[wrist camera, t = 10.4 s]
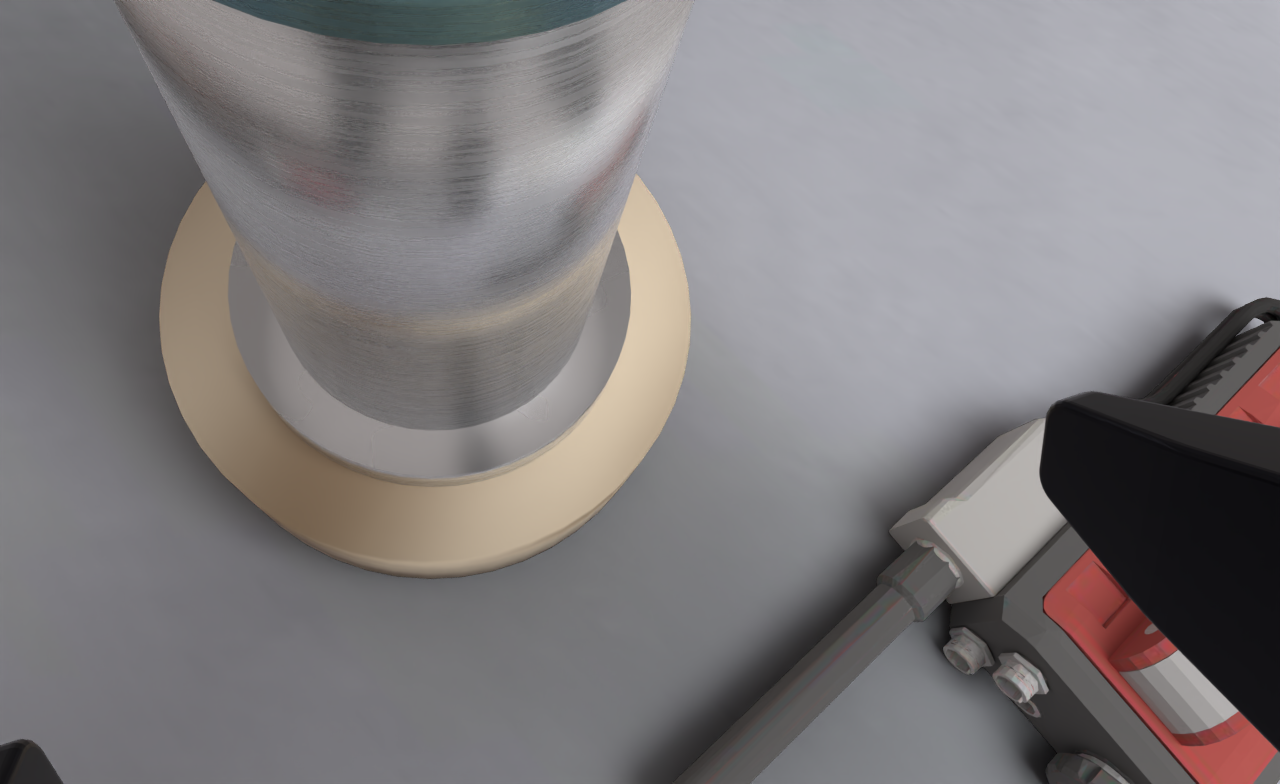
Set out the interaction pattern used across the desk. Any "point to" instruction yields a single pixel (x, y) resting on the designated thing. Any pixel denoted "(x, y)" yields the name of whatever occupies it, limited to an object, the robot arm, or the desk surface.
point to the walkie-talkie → (1043, 612)
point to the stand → (414, 515)
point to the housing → (420, 209)
